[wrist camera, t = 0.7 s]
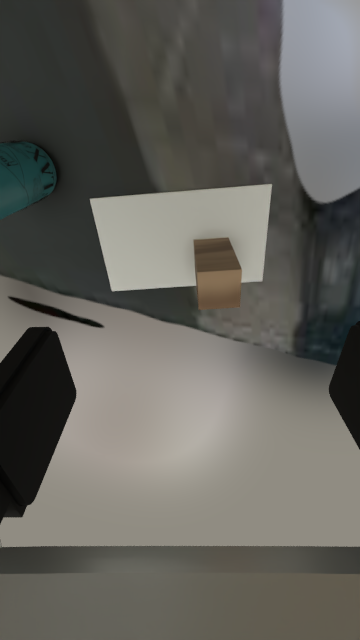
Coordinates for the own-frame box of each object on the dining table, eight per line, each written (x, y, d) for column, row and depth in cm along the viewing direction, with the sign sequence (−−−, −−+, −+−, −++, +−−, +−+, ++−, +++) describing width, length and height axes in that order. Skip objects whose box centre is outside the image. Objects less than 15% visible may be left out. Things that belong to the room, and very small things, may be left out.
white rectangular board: (90, 198, 38) (89, 199, 38) (271, 183, 37) (271, 184, 37) (112, 289, 46) (111, 291, 46) (261, 279, 45) (262, 281, 45)
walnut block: (193, 239, 41) (197, 272, 32) (228, 236, 41) (241, 269, 32) (194, 271, 44) (198, 309, 35) (227, 268, 44) (239, 307, 35)
